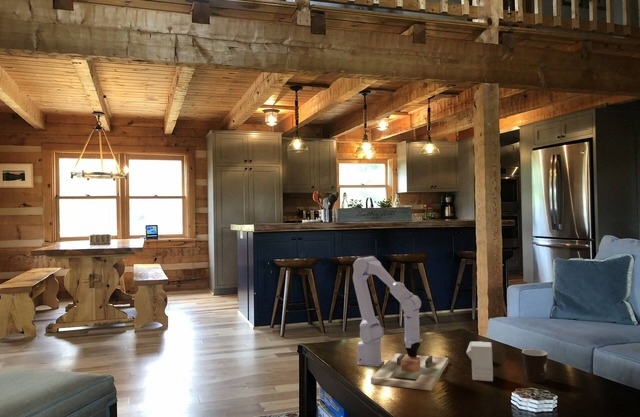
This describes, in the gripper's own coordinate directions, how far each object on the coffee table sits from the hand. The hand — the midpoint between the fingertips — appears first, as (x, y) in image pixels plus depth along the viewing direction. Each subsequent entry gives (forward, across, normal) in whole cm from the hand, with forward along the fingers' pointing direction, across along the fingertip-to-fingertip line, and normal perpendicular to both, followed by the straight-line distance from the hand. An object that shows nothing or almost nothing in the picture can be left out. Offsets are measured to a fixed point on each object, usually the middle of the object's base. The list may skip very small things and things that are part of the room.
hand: (412, 362), depth 196 cm
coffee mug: (+4, +6, -45) cm, 45 cm away
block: (+2, -4, 0) cm, 5 cm away
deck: (+3, -2, 0) cm, 4 cm away
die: (+4, +22, -22) cm, 32 cm away
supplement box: (+4, 0, -26) cm, 26 cm away
